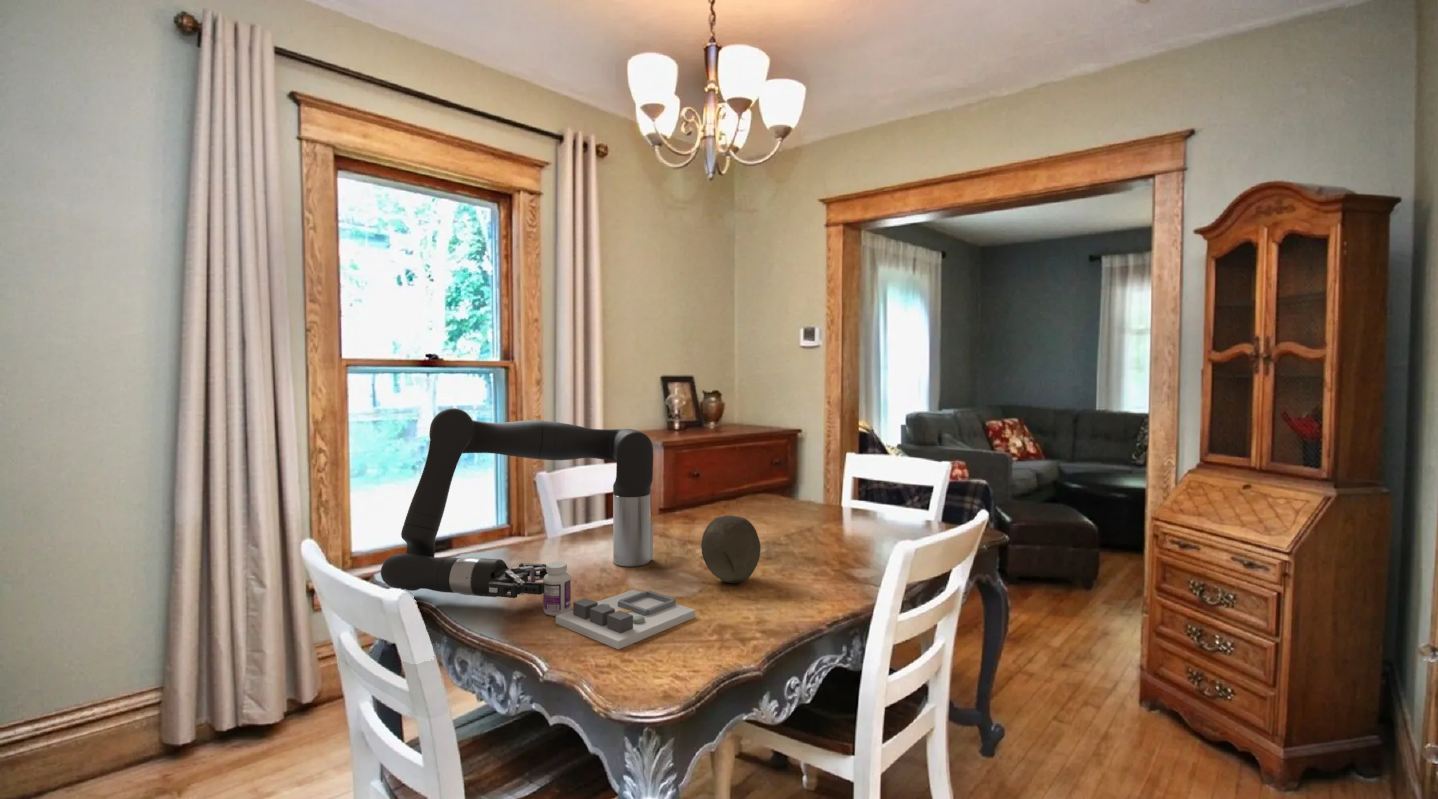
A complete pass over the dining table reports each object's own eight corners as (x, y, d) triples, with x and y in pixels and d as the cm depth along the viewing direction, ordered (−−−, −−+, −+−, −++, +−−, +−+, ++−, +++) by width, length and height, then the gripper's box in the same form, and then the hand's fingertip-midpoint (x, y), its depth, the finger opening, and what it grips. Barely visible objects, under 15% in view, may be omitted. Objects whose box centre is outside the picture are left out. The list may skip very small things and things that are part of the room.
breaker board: (633, 596, 146) (633, 578, 145) (695, 617, 134) (695, 597, 134) (555, 623, 130) (555, 603, 130) (618, 649, 119) (618, 627, 118)
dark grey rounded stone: (773, 580, 157) (774, 516, 156) (732, 595, 147) (733, 527, 146) (728, 567, 166) (728, 507, 166) (687, 580, 156) (687, 516, 155)
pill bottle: (561, 604, 140) (561, 558, 140) (575, 611, 137) (575, 564, 136) (538, 611, 137) (537, 564, 136) (552, 618, 133) (551, 570, 132)
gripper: (459, 569, 132) (536, 574, 129) (495, 549, 146) (566, 553, 143) (459, 607, 133) (537, 612, 130) (496, 583, 147) (567, 588, 144)
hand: (552, 581), depth 136 cm, fingers open, 8 cm apart
